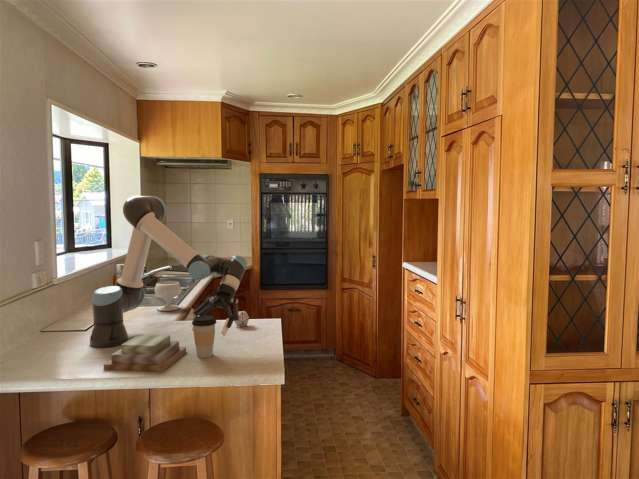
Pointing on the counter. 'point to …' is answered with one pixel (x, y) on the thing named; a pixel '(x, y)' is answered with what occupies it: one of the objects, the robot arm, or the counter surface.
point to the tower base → (146, 366)
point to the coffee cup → (204, 335)
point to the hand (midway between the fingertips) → (208, 332)
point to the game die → (242, 318)
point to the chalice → (167, 293)
